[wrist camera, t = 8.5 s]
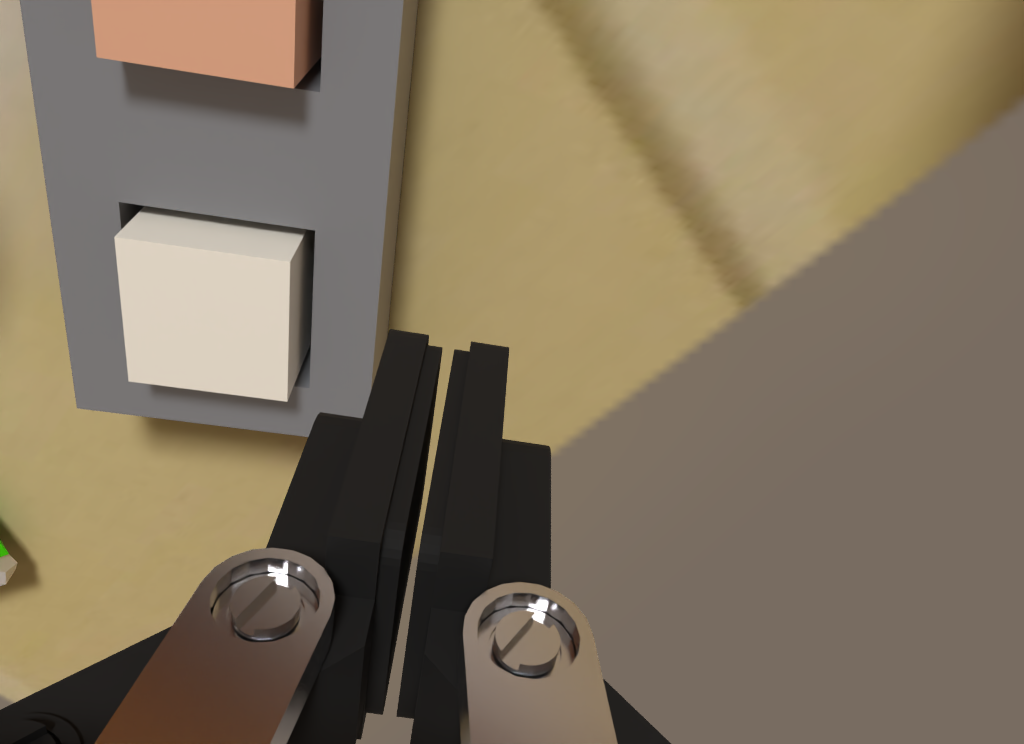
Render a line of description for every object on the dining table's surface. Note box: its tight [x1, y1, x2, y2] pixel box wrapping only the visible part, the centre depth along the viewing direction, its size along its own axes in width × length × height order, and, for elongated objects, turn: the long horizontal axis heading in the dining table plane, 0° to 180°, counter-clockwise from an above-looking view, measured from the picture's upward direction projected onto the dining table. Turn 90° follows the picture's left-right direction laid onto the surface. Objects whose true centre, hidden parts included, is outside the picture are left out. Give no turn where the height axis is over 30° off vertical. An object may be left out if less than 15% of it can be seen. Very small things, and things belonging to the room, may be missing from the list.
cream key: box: [114, 206, 315, 402], centre depth 34 cm, size 6×6×6 cm
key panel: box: [20, 0, 418, 437], centre depth 32 cm, size 12×24×6 cm, turn 171°
